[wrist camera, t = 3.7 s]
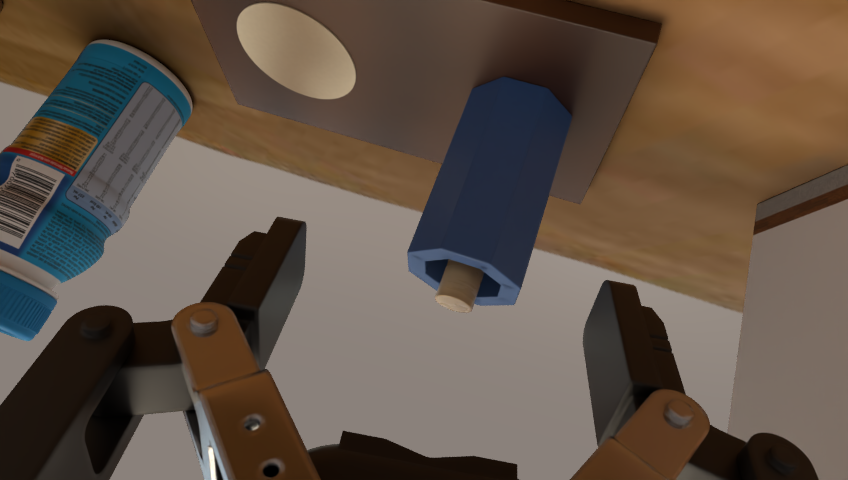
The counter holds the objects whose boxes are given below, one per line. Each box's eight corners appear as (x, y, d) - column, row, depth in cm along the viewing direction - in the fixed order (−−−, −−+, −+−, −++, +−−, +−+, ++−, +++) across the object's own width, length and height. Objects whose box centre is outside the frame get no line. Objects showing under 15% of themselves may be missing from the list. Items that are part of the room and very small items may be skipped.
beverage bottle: (218, 104, 45) (64, 354, 37) (166, 122, 50) (22, 342, 42) (115, 19, 39) (-91, 289, 31) (70, 49, 45) (-115, 285, 37)
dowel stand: (245, 91, 42) (153, 245, 37) (165, -98, 29) (8, 98, 24) (584, 189, 38) (534, 374, 33) (662, 23, 26) (600, 282, 21)
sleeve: (467, 131, 35) (409, 282, 31) (474, 67, 30) (405, 237, 26) (558, 157, 34) (510, 315, 30) (579, 96, 29) (526, 275, 25)
